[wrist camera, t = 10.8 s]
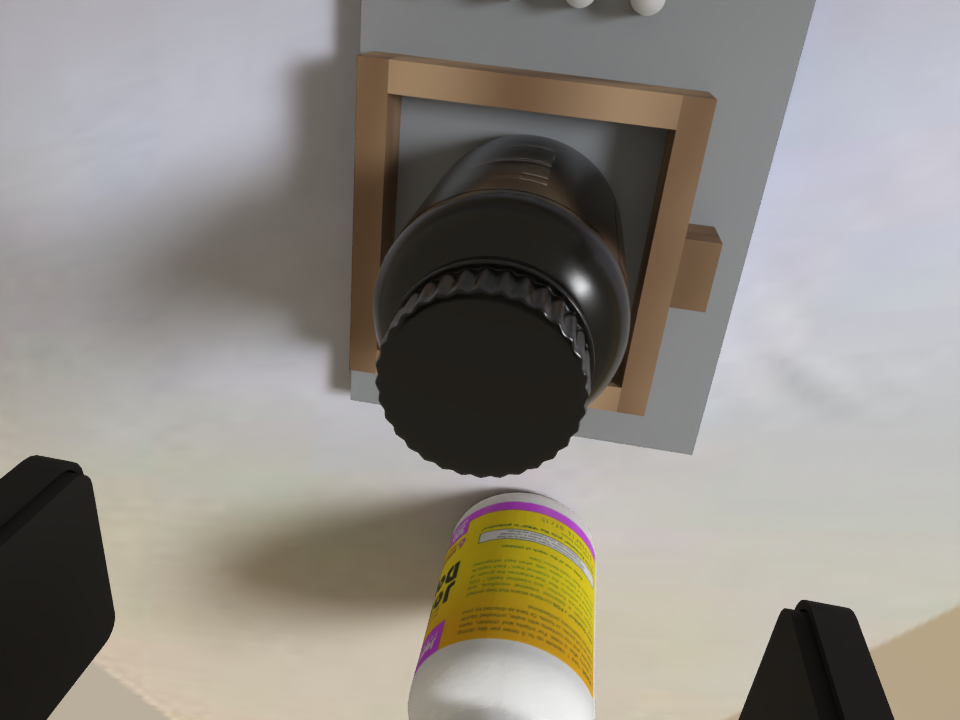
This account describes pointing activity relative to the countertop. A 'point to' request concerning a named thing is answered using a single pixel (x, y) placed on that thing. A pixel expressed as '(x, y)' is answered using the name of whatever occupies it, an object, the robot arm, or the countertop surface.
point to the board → (615, 141)
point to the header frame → (686, 113)
